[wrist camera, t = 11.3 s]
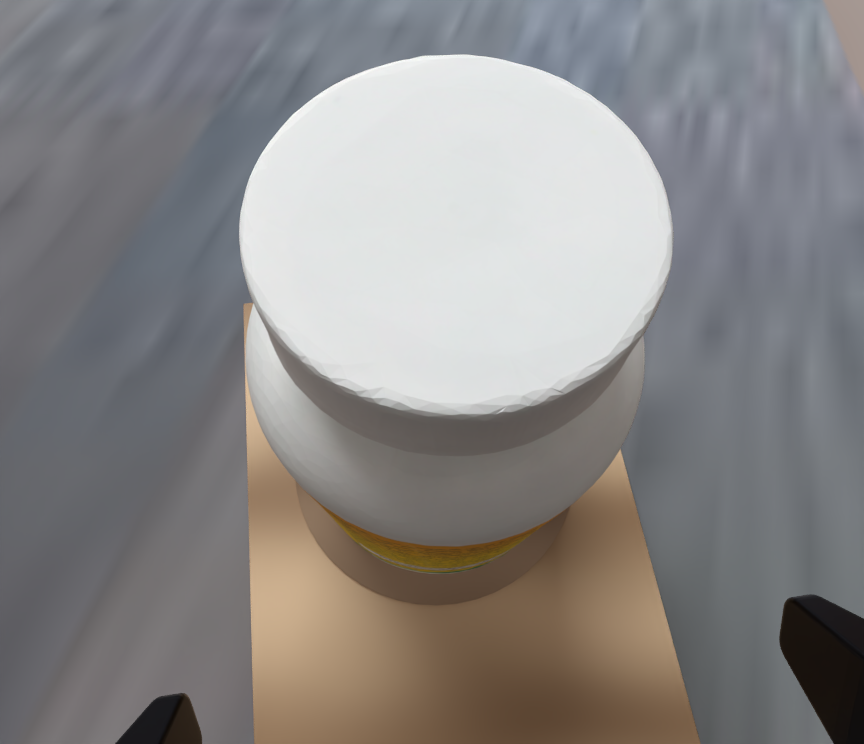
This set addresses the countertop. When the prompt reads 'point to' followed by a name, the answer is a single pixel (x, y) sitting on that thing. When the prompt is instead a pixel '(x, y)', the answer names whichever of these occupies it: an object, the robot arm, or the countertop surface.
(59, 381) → the countertop surface
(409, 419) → the supplement bottle
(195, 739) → the robot arm
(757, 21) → the countertop surface
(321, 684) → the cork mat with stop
